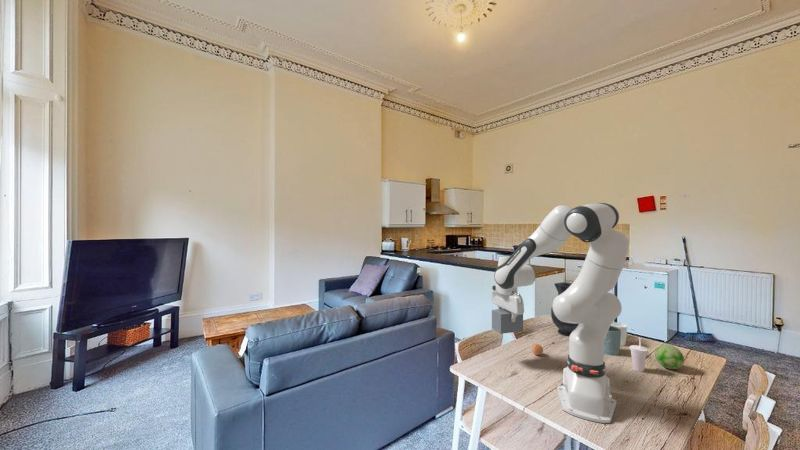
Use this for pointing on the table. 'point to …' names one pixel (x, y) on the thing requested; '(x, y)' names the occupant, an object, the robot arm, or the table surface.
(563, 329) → the pitcher
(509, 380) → the table surface
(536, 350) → the ball
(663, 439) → the table surface
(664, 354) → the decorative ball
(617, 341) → the drinking glass
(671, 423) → the table surface
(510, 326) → the gray rectangular block
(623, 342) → the white cup
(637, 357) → the smoothie
